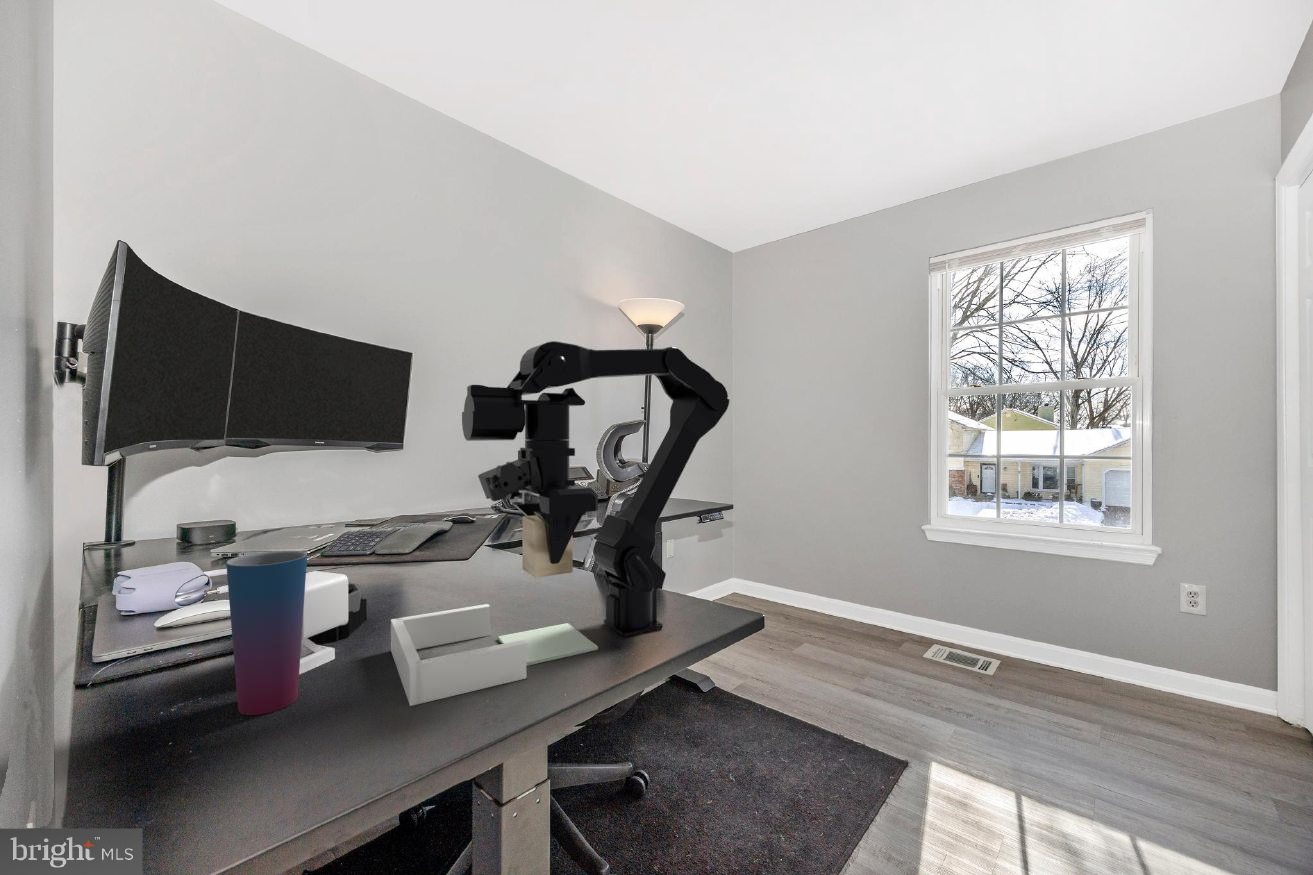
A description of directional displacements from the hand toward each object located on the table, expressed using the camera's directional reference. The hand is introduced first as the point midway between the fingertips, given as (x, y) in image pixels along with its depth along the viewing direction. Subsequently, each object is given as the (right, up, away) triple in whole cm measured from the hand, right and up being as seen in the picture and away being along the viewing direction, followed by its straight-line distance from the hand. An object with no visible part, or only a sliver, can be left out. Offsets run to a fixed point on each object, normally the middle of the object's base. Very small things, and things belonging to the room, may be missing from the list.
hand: (547, 559), depth 73 cm
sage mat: (0, -11, 0) cm, 11 cm away
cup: (-26, -12, -16) cm, 32 cm away
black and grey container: (-32, -11, +5) cm, 35 cm away
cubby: (-10, -11, -6) cm, 16 cm away
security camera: (-28, -11, -6) cm, 31 cm away
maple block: (0, -2, 0) cm, 2 cm away
